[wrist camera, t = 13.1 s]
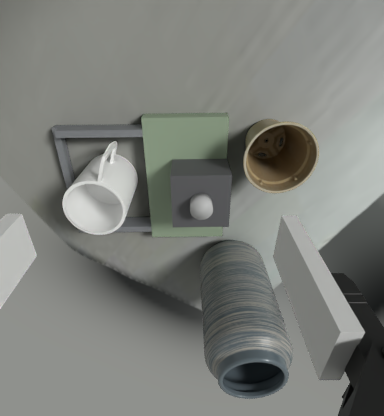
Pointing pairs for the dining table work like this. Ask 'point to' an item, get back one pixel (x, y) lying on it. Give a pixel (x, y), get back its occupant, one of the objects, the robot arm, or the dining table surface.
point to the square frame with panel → (172, 171)
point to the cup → (101, 193)
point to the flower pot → (279, 155)
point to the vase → (242, 322)
